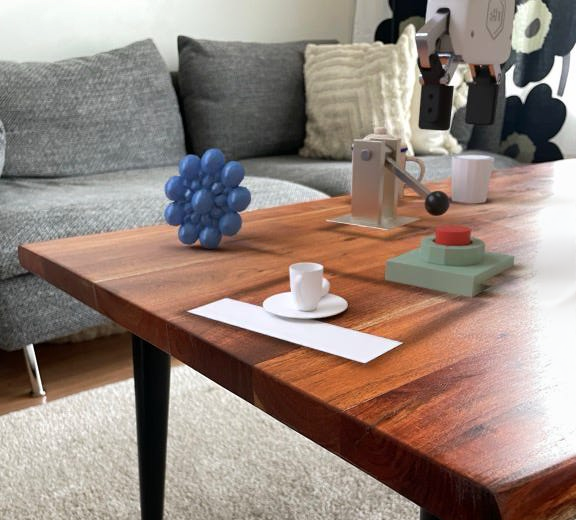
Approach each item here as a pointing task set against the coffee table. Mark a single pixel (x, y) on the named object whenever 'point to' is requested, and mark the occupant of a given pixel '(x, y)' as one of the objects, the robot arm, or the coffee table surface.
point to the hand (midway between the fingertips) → (457, 126)
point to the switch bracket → (374, 186)
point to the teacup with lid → (403, 158)
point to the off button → (453, 235)
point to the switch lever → (418, 187)
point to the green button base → (448, 267)
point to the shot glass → (471, 177)
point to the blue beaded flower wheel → (206, 199)
